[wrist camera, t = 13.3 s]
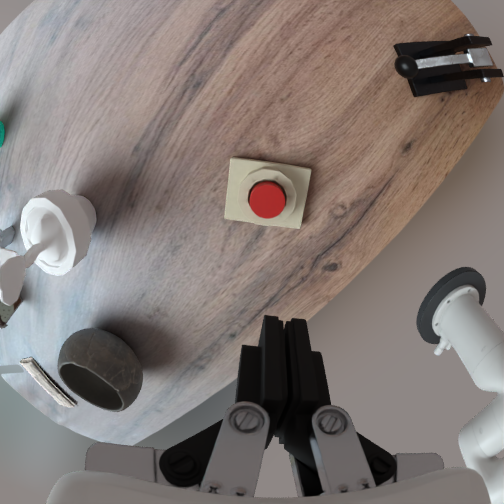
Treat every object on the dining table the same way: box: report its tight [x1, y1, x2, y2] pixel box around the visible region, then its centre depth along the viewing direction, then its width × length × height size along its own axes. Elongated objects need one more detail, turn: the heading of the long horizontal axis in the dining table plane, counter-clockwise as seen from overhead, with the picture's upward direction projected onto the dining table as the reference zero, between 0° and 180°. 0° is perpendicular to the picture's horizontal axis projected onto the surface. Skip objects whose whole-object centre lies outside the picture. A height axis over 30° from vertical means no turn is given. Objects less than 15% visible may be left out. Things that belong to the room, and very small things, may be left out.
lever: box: [394, 48, 493, 79], centre depth 18 cm, size 13×3×3 cm
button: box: [250, 181, 285, 219], centre depth 31 cm, size 4×4×2 cm
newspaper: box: [20, 357, 75, 408], centre depth 61 cm, size 23×12×2 cm, turn 21°
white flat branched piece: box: [0, 226, 15, 248], centre depth 35 cm, size 7×2×8 cm, turn 131°
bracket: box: [393, 34, 504, 97], centre depth 19 cm, size 11×8×13 cm
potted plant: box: [0, 190, 97, 306], centre depth 26 cm, size 13×12×25 cm
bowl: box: [58, 328, 143, 412], centre depth 44 cm, size 18×18×13 cm
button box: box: [224, 157, 311, 229], centre depth 33 cm, size 10×8×4 cm
